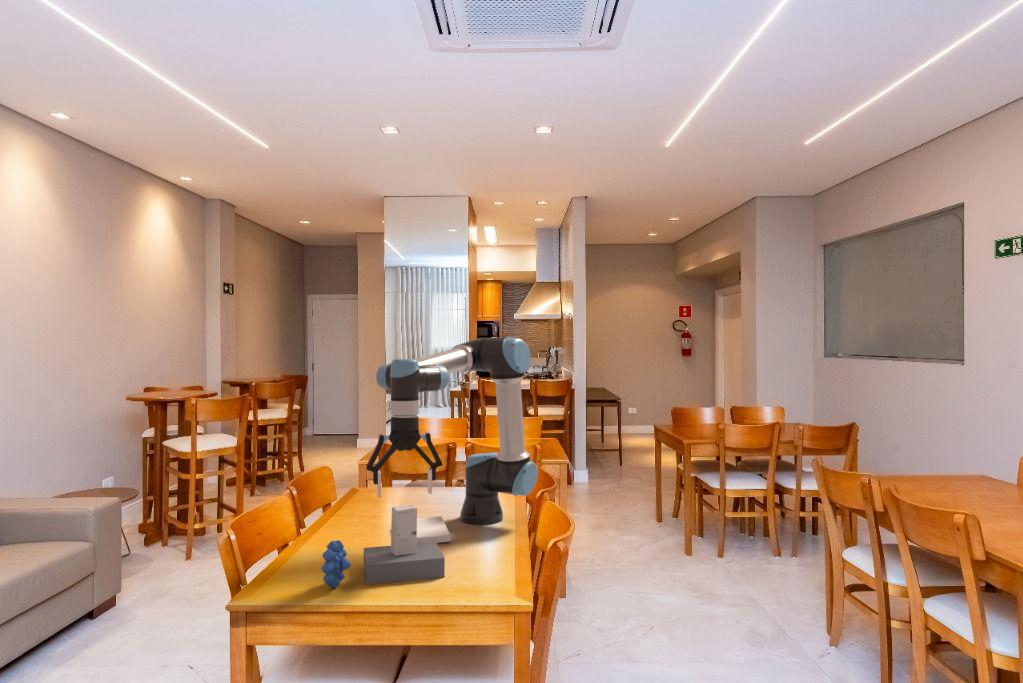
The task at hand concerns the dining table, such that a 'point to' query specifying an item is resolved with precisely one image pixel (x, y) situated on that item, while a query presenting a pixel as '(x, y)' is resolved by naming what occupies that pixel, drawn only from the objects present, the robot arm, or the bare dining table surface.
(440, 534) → the food packaging
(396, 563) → the block
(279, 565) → the dining table surface
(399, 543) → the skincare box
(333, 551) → the grapes
